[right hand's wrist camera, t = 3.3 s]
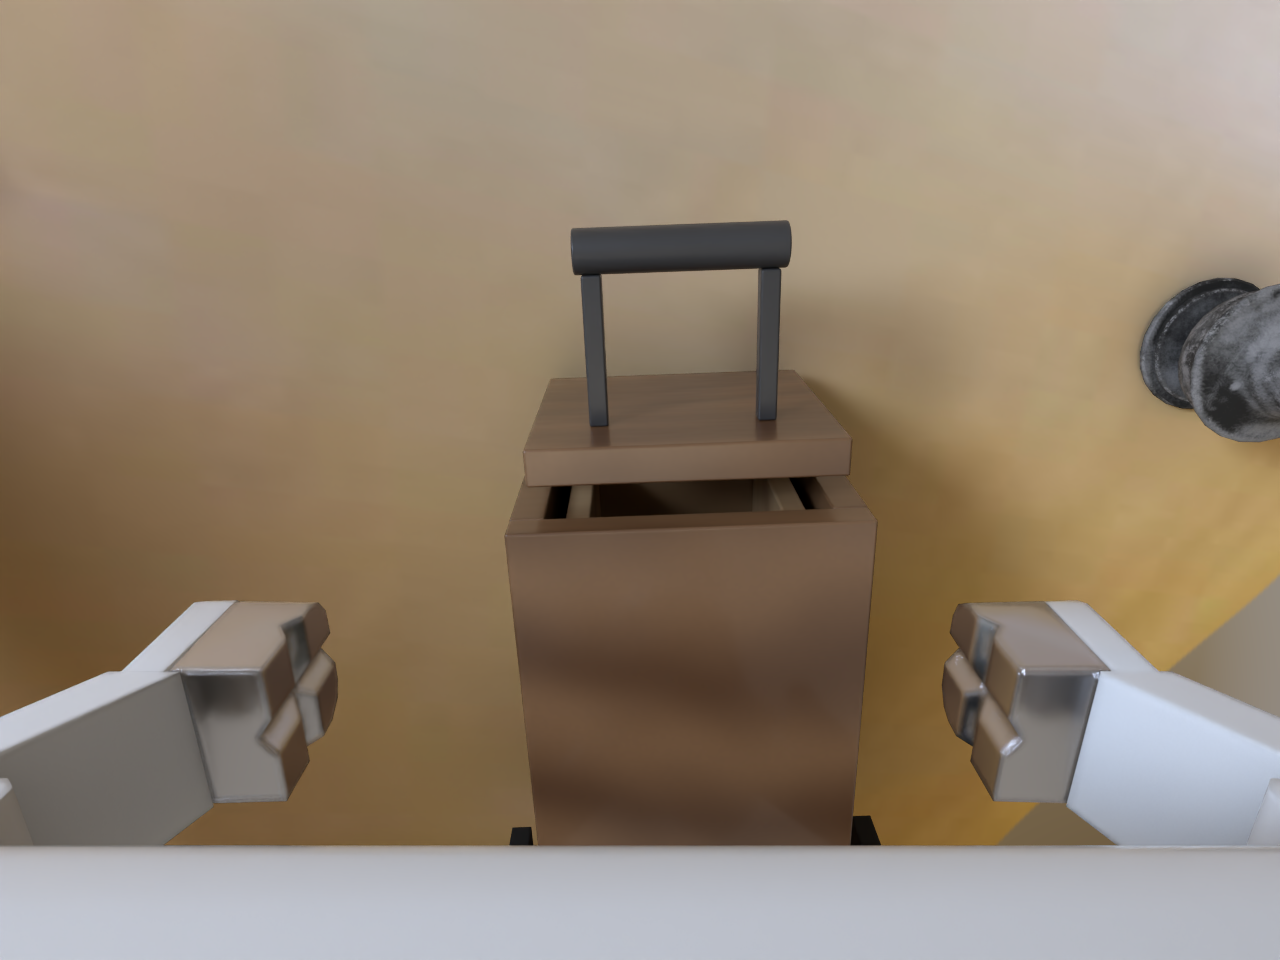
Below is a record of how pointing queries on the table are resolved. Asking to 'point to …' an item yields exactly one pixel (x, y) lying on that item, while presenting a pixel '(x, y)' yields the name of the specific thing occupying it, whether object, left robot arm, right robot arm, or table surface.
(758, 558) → the brown wooden box
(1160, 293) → the table surface
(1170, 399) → the stone chess piece
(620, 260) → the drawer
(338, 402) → the table surface
